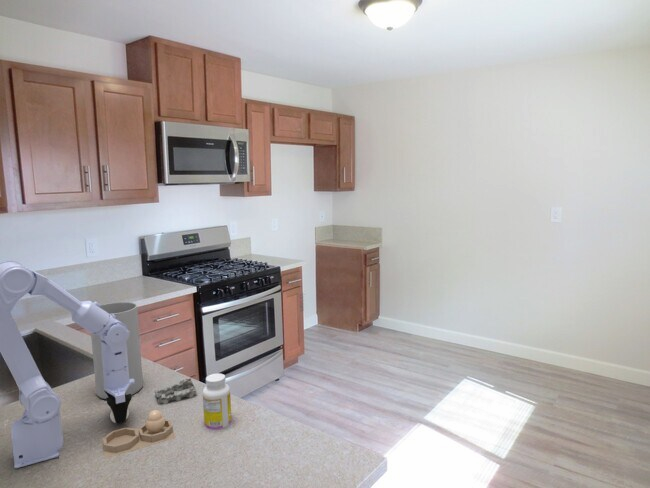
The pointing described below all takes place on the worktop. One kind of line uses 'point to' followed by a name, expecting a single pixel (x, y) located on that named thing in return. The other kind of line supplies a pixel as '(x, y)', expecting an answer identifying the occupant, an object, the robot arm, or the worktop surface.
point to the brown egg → (155, 422)
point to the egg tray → (134, 439)
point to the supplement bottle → (216, 402)
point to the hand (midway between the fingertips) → (119, 417)
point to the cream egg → (114, 418)
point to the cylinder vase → (129, 317)
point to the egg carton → (176, 387)
